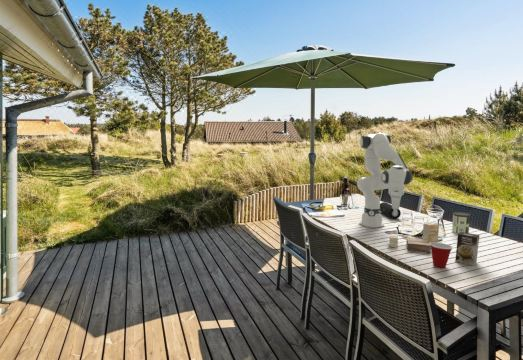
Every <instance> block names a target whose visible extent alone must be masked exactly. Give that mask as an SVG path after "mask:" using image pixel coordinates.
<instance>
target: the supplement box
mask: <svg viewBox="0 0 523 360" xmlns="http://www.w3.org/2000/svg"><path fill="white" fill-rule="evenodd" d="M422 227H423V228H422V239H428V241H429V244H430V243H432V242H436V243H439V242H438V241H439V229H440V223H437V222H427V223H426V222H425V223H423V226H422Z"/></svg>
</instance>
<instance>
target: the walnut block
mask: <svg viewBox="0 0 523 360" xmlns="http://www.w3.org/2000/svg"><path fill="white" fill-rule="evenodd" d="M406 249H407V251H408V252H415V251H417V253H425V254H426V253H427V254H431V246H430V244H429V241H428V239H423V238H418V237H417V238H415V237H409V236H408V237H406Z"/></svg>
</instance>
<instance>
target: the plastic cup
mask: <svg viewBox="0 0 523 360" xmlns="http://www.w3.org/2000/svg"><path fill="white" fill-rule="evenodd" d="M453 248H454V246H452V245H450V244H447V243H443V242H438V243H436V242H432V243H430V253H431V259H432V265H433V266H434V267H435V268H437V269H445V268H446V267H447V265H448V264H447V263H448V261H449V257H450V254H451V251H452V250H453Z"/></svg>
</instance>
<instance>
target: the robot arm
mask: <svg viewBox="0 0 523 360" xmlns="http://www.w3.org/2000/svg"><path fill="white" fill-rule="evenodd" d="M391 143H392V138H391V136H390V134H388V133H383V132H378V133H371V134H363V135H361V136H360V139H359V145H360V148H361V149H364V150H365V151H364V168H365V170H366V171H368V172H369V173H370V174H371V176H363V177H359V178H358V179H357V182H356V186H357V188H358V189H359V190H360V192H362V194H363V196H364V208H363V212H362V213H361V220H360V221H359V222H358V224H359V225H362V226H363V227H366V228H373V229H374V228H381V227H383V228H385V224H384V223H383V215H382V214H381V212H380V203H381V197H379V196H378V195H377V194H375V191H383V190H386V189H388V195H389V196H390V199H391V205H392V209H394V215H397V209H399V210H400V203H401V198H402V196H403V195H405V186H408V185H409V184H410V183H411V182H412V181H413V179H414V178H413V173H412V171H411V169H409V167H408V166H407V165H406V163H405V160H403V158H402V156H401V154H400V152H399V151H397V150H395V149H394V148H393V147H392V145H391ZM381 160H386V161H389V162H392V163H394V164H395V165H391V166H390V168H389V169H385V170H384V171H382V168H381V167H382V166H381Z"/></svg>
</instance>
